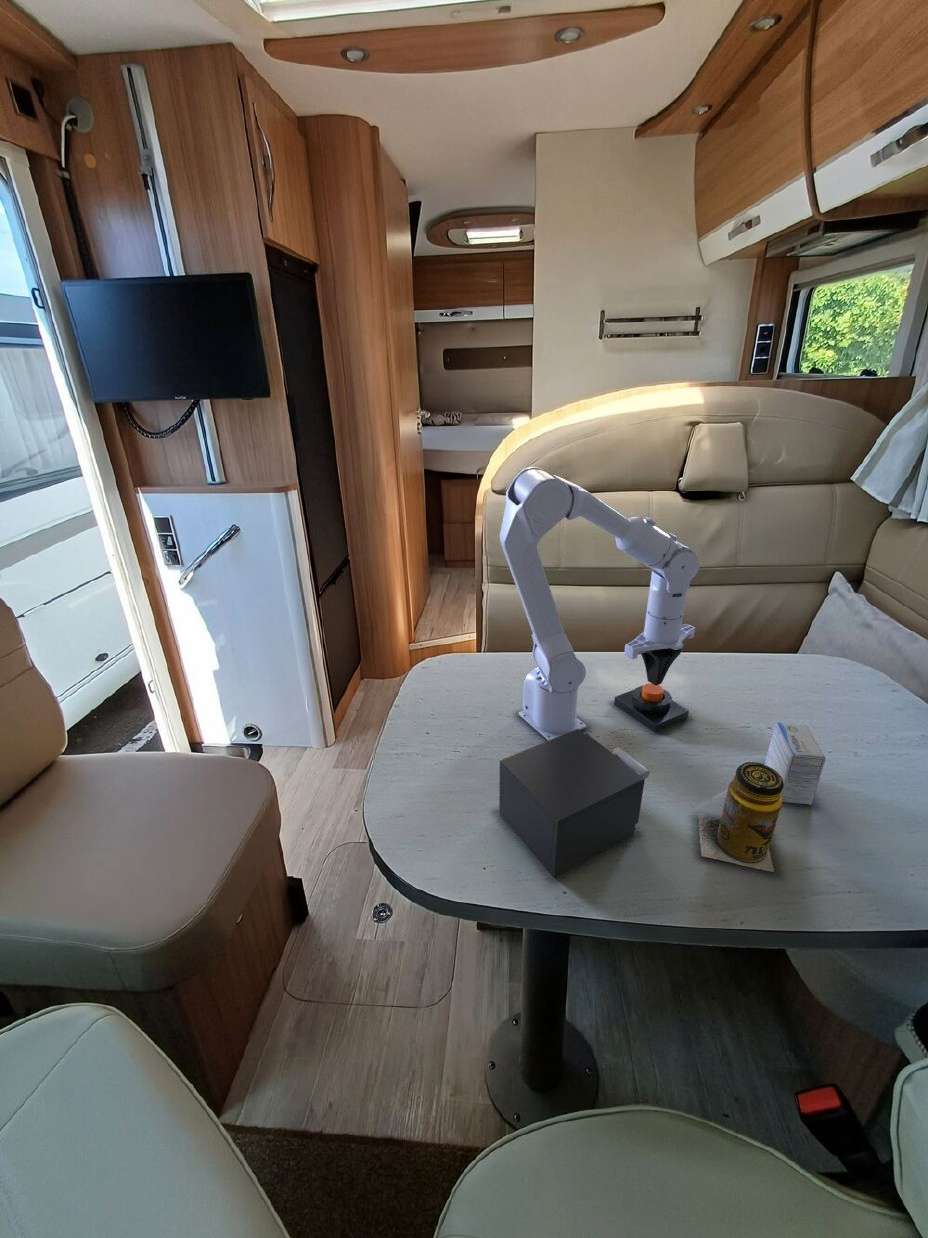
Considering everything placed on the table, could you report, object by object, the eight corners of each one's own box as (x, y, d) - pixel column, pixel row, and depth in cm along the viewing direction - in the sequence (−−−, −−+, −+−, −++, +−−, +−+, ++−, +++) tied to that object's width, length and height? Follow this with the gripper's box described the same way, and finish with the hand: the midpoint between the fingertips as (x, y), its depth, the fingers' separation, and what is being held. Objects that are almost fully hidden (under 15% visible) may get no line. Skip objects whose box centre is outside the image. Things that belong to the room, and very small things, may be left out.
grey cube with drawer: (573, 779, 85) (578, 728, 81) (634, 834, 75) (642, 779, 71) (499, 813, 79) (499, 760, 75) (554, 878, 69) (558, 821, 65)
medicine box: (811, 806, 79) (828, 758, 75) (777, 802, 80) (792, 754, 76) (794, 769, 86) (808, 723, 82) (762, 766, 87) (775, 720, 83)
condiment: (773, 873, 69) (797, 800, 64) (701, 857, 72) (717, 785, 66) (764, 829, 75) (784, 759, 70) (697, 816, 78) (712, 747, 73)
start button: (637, 695, 100) (638, 686, 99) (651, 689, 101) (652, 681, 101) (652, 705, 97) (653, 696, 96) (667, 699, 99) (668, 690, 98)
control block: (613, 704, 103) (615, 688, 101) (645, 691, 106) (647, 676, 105) (655, 733, 95) (657, 716, 93) (687, 718, 98) (690, 702, 97)
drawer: (603, 764, 87) (608, 723, 83) (660, 811, 78) (667, 767, 74) (515, 805, 79) (516, 762, 76) (566, 862, 70) (569, 816, 67)
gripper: (651, 632, 86) (641, 705, 91) (714, 611, 92) (701, 680, 98) (618, 615, 91) (611, 685, 97) (680, 596, 97) (669, 663, 103)
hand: (654, 682), depth 98 cm, fingers closed
